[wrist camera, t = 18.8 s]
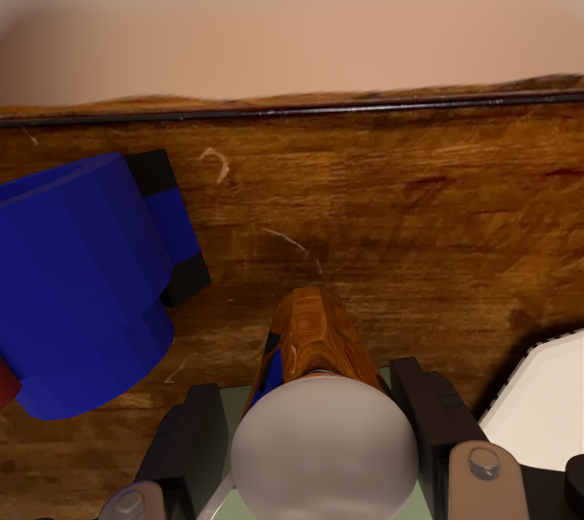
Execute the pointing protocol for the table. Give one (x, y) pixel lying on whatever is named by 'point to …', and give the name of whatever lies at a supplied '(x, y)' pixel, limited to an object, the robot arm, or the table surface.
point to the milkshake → (319, 424)
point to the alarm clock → (90, 279)
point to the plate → (542, 405)
